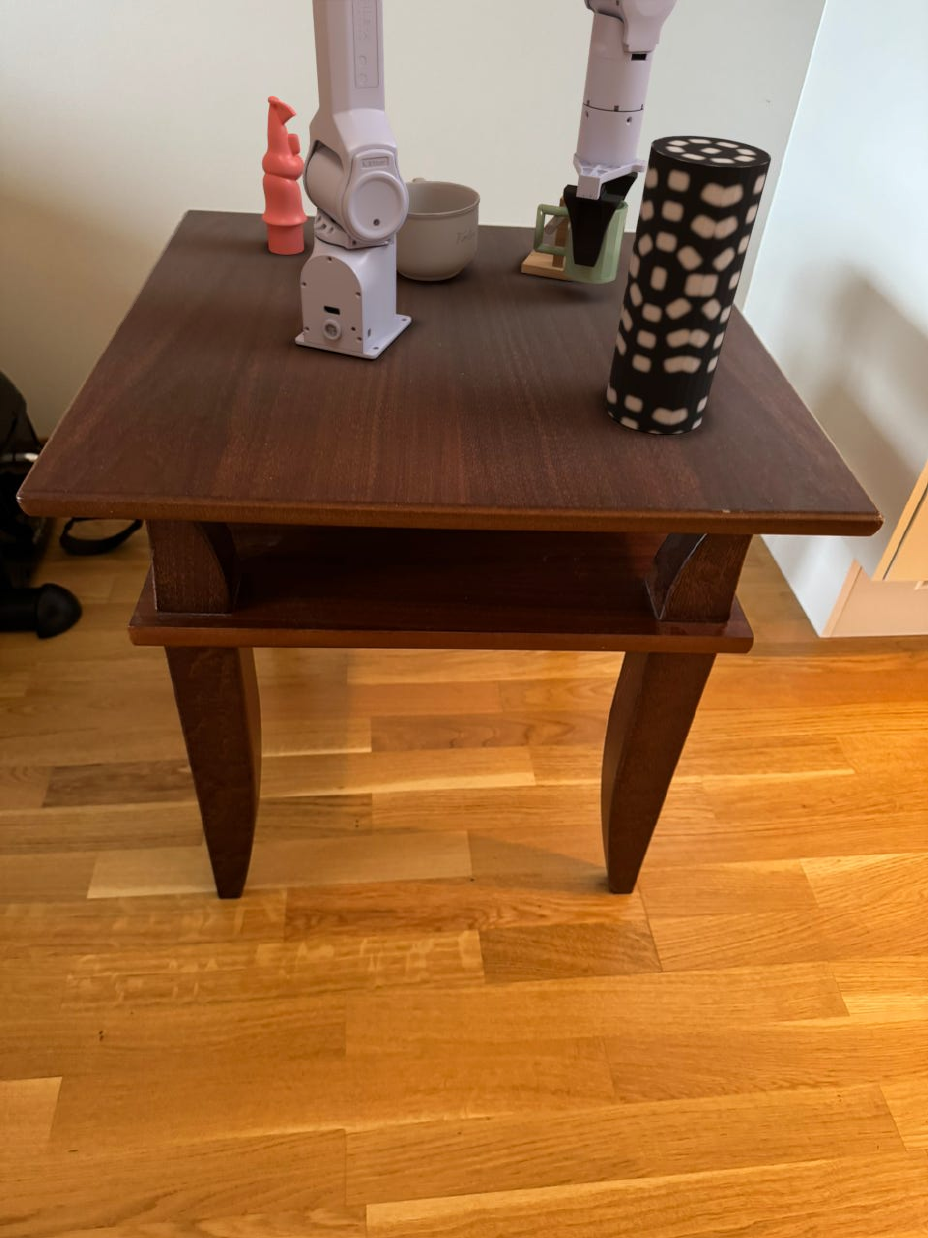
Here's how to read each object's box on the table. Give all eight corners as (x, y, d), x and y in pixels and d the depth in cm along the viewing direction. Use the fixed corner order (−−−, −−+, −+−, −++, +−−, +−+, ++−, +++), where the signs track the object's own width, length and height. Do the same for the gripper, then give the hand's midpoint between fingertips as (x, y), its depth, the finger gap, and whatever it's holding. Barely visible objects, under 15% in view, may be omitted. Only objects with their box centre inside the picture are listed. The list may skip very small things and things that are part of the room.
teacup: (474, 293, 91) (480, 212, 86) (371, 286, 91) (370, 205, 86) (476, 247, 102) (480, 173, 97) (383, 242, 102) (383, 167, 96)
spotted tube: (636, 378, 78) (686, 129, 65) (719, 410, 75) (790, 153, 62) (585, 409, 73) (628, 147, 60) (672, 445, 70) (738, 174, 57)
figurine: (320, 247, 99) (312, 96, 89) (290, 259, 96) (278, 104, 86) (285, 237, 101) (273, 88, 91) (255, 249, 98) (239, 95, 88)
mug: (620, 269, 92) (632, 199, 88) (610, 287, 88) (622, 214, 84) (538, 255, 94) (545, 186, 90) (524, 272, 90) (531, 200, 86)
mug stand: (559, 302, 91) (569, 222, 86) (504, 292, 92) (511, 212, 87) (584, 264, 100) (595, 189, 95) (534, 255, 101) (542, 180, 96)
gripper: (642, 126, 75) (616, 285, 84) (667, 95, 85) (641, 239, 94) (563, 116, 76) (545, 273, 85) (596, 87, 87) (577, 229, 96)
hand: (591, 255), depth 90 cm, fingers closed on mug, 5 cm apart
